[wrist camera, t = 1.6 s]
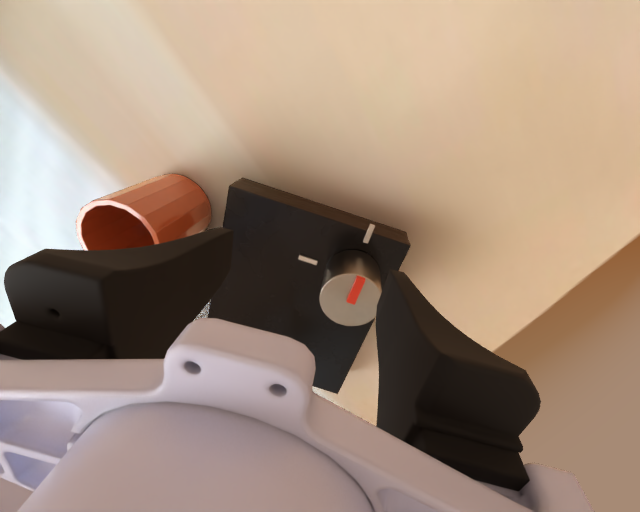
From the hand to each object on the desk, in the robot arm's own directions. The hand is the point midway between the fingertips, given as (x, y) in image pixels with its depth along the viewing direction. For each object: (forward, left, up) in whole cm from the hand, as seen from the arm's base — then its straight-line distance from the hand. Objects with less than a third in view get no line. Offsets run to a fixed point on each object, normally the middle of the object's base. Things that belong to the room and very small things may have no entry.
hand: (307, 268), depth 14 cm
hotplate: (-8, 0, -10) cm, 13 cm away
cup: (-4, +11, -10) cm, 16 cm away
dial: (-4, -3, -8) cm, 9 cm away
